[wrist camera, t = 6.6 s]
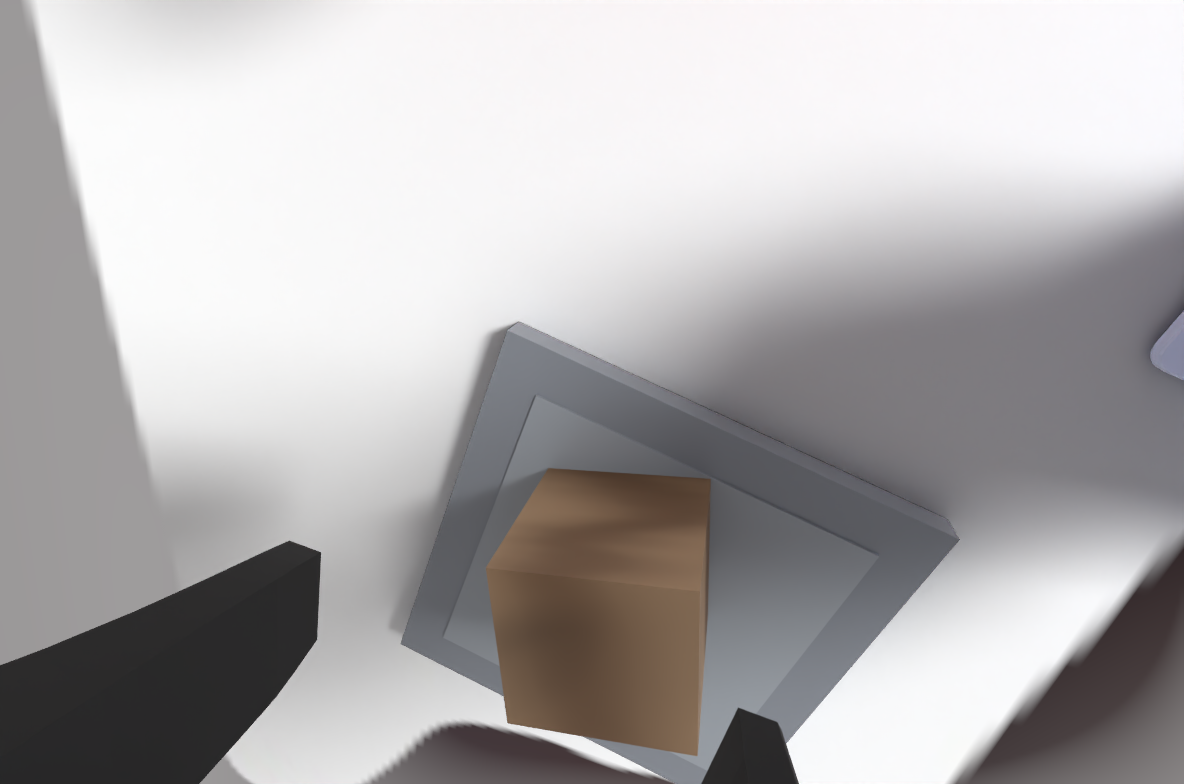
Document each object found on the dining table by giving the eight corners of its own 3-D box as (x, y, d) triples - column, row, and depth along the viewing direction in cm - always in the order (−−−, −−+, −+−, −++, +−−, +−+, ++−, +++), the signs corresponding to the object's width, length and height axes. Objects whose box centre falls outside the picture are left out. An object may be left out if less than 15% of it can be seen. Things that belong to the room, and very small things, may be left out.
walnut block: (710, 478, 17) (699, 591, 13) (708, 614, 19) (697, 756, 15) (548, 468, 18) (485, 567, 14) (559, 597, 20) (507, 722, 16)
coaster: (948, 519, 17) (960, 541, 16) (729, 785, 23) (729, 813, 22) (518, 321, 18) (506, 331, 17) (413, 625, 24) (399, 645, 23)
